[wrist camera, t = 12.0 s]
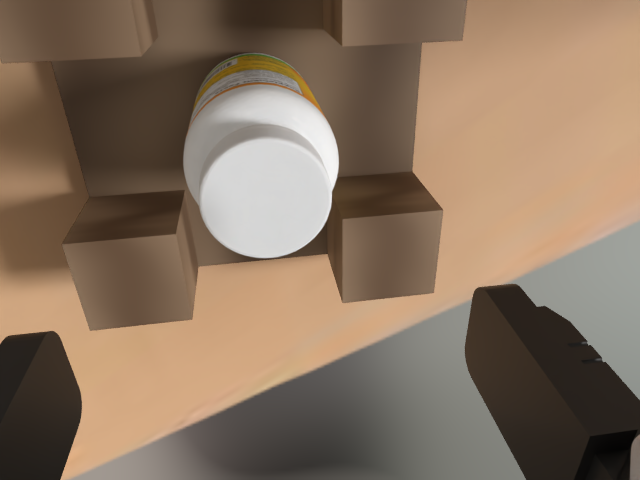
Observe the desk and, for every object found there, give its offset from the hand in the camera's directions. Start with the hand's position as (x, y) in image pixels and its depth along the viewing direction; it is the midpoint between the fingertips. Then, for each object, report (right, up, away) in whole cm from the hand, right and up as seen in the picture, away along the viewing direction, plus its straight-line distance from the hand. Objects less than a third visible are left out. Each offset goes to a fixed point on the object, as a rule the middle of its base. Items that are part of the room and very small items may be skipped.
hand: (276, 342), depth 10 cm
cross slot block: (-3, +8, +14) cm, 17 cm away
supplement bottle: (-2, +8, +13) cm, 16 cm away
